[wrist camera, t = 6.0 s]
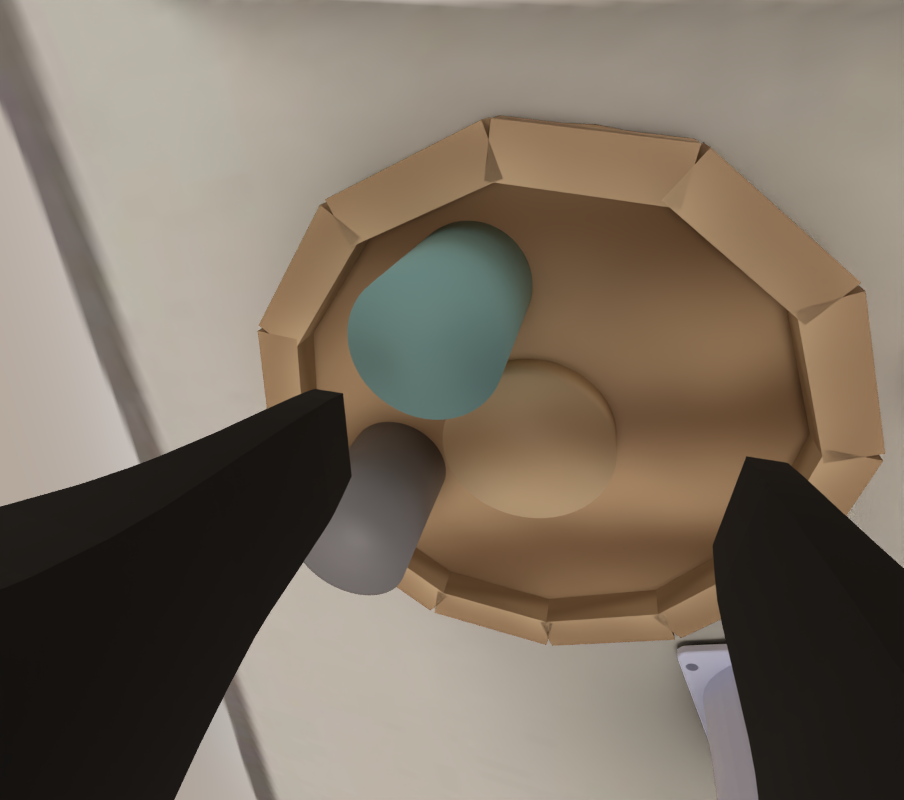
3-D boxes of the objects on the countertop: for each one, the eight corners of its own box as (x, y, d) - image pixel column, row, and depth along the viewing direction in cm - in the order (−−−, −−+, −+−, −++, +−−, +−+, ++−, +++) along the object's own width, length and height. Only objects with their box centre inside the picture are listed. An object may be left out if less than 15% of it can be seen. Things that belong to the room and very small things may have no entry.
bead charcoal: (461, 492, 22) (425, 589, 17) (381, 507, 23) (330, 599, 19) (419, 411, 20) (368, 497, 16) (336, 434, 22) (271, 516, 18)
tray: (879, 577, 20) (905, 628, 18) (421, 615, 28) (408, 652, 26) (791, -34, 12) (823, -55, 10) (201, 265, 20) (160, 283, 19)
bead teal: (548, 325, 17) (526, 404, 13) (438, 353, 19) (387, 431, 14) (509, 201, 15) (469, 246, 11) (392, 243, 17) (320, 296, 13)
